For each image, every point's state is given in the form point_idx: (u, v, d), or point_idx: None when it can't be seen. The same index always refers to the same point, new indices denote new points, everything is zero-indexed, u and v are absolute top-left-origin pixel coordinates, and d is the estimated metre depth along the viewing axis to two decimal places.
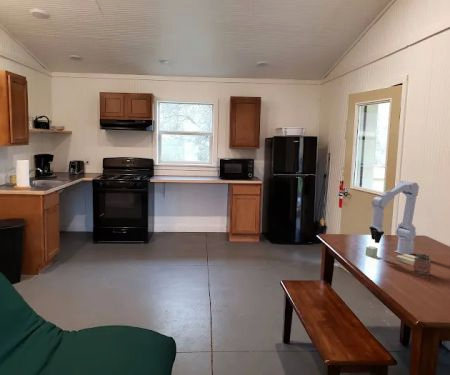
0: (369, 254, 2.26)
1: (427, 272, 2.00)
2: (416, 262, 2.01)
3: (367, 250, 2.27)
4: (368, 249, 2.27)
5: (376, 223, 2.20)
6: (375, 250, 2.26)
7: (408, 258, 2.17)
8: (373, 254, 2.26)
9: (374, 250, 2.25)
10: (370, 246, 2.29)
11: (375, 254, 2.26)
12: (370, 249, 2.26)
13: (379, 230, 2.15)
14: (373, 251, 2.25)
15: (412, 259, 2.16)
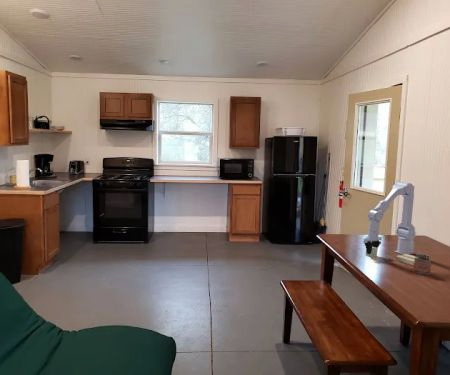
0: (369, 254, 2.26)
1: (427, 272, 2.00)
2: (416, 262, 2.01)
3: None
4: None
5: (368, 235, 2.26)
6: (375, 250, 2.26)
7: (408, 258, 2.17)
8: (373, 254, 2.25)
9: (374, 250, 2.25)
10: None
11: (375, 254, 2.26)
12: None
13: (364, 241, 2.23)
14: (373, 251, 2.25)
15: (412, 259, 2.16)
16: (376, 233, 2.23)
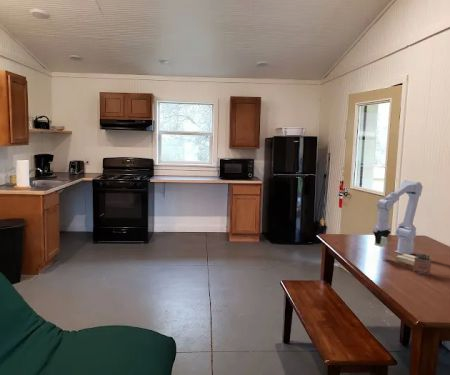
0: (378, 244, 2.24)
1: (427, 272, 2.00)
2: (416, 262, 2.01)
3: None
4: None
5: (377, 225, 2.23)
6: (384, 239, 2.23)
7: (408, 258, 2.17)
8: (383, 244, 2.23)
9: (383, 239, 2.23)
10: None
11: (384, 244, 2.24)
12: None
13: (373, 230, 2.20)
14: (382, 240, 2.22)
15: (412, 259, 2.16)
16: (385, 222, 2.21)
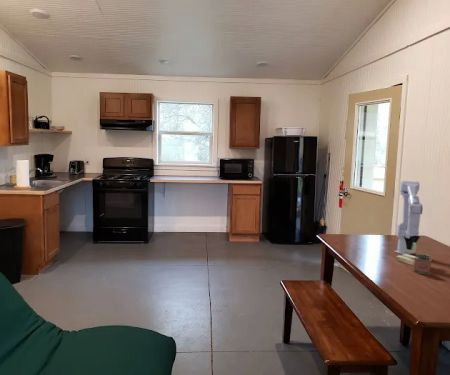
0: None
1: (427, 272, 2.00)
2: (416, 262, 2.01)
3: None
4: None
5: (408, 230, 2.17)
6: (415, 245, 2.17)
7: (408, 258, 2.17)
8: (414, 250, 2.17)
9: (414, 245, 2.17)
10: None
11: (415, 249, 2.18)
12: None
13: (406, 236, 2.13)
14: (414, 246, 2.16)
15: (412, 259, 2.16)
16: (417, 227, 2.15)
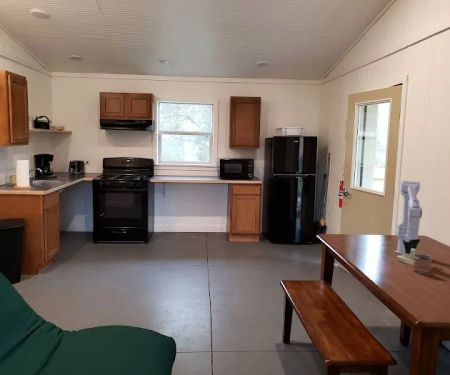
0: (408, 256, 2.18)
1: (427, 272, 2.00)
2: (416, 262, 2.01)
3: None
4: None
5: (408, 234, 2.17)
6: (414, 251, 2.18)
7: (408, 258, 2.17)
8: (413, 256, 2.17)
9: (413, 251, 2.17)
10: None
11: (414, 255, 2.19)
12: None
13: (406, 240, 2.13)
14: (412, 252, 2.17)
15: (412, 259, 2.16)
16: (417, 231, 2.15)
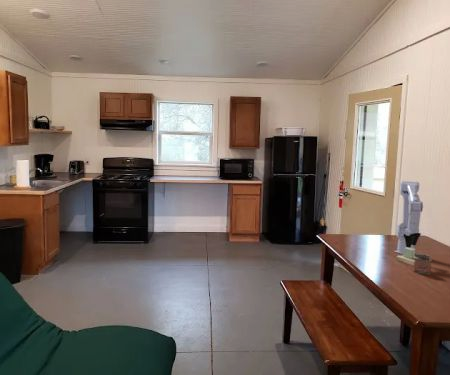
0: (408, 256, 2.18)
1: (427, 272, 2.00)
2: (416, 262, 2.01)
3: (405, 251, 2.19)
4: (407, 250, 2.18)
5: (409, 228, 2.17)
6: (414, 251, 2.18)
7: (408, 258, 2.17)
8: (412, 256, 2.18)
9: (413, 251, 2.18)
10: (407, 247, 2.22)
11: (413, 255, 2.19)
12: (409, 250, 2.18)
13: (406, 234, 2.13)
14: (412, 252, 2.17)
15: (412, 259, 2.16)
16: (417, 225, 2.15)
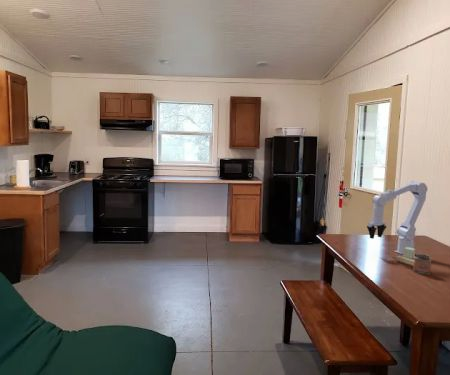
0: (408, 255, 2.18)
1: (427, 272, 2.00)
2: (416, 262, 2.01)
3: (405, 251, 2.19)
4: (407, 250, 2.19)
5: (373, 220, 2.31)
6: (414, 251, 2.19)
7: (408, 258, 2.17)
8: (412, 256, 2.18)
9: (413, 251, 2.18)
10: (407, 247, 2.22)
11: (413, 255, 2.19)
12: (409, 250, 2.18)
13: (368, 225, 2.28)
14: (412, 252, 2.17)
15: (412, 259, 2.16)
16: (380, 217, 2.29)
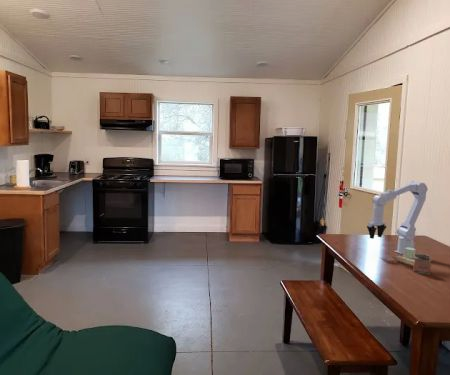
0: (409, 256, 2.18)
1: (427, 272, 2.00)
2: (416, 262, 2.01)
3: (406, 252, 2.19)
4: (407, 251, 2.18)
5: (373, 220, 2.31)
6: (414, 251, 2.18)
7: (408, 258, 2.17)
8: (413, 256, 2.18)
9: (414, 251, 2.18)
10: (407, 247, 2.22)
11: (414, 255, 2.19)
12: (410, 250, 2.17)
13: (368, 225, 2.28)
14: (413, 252, 2.17)
15: (412, 259, 2.16)
16: (380, 217, 2.29)
